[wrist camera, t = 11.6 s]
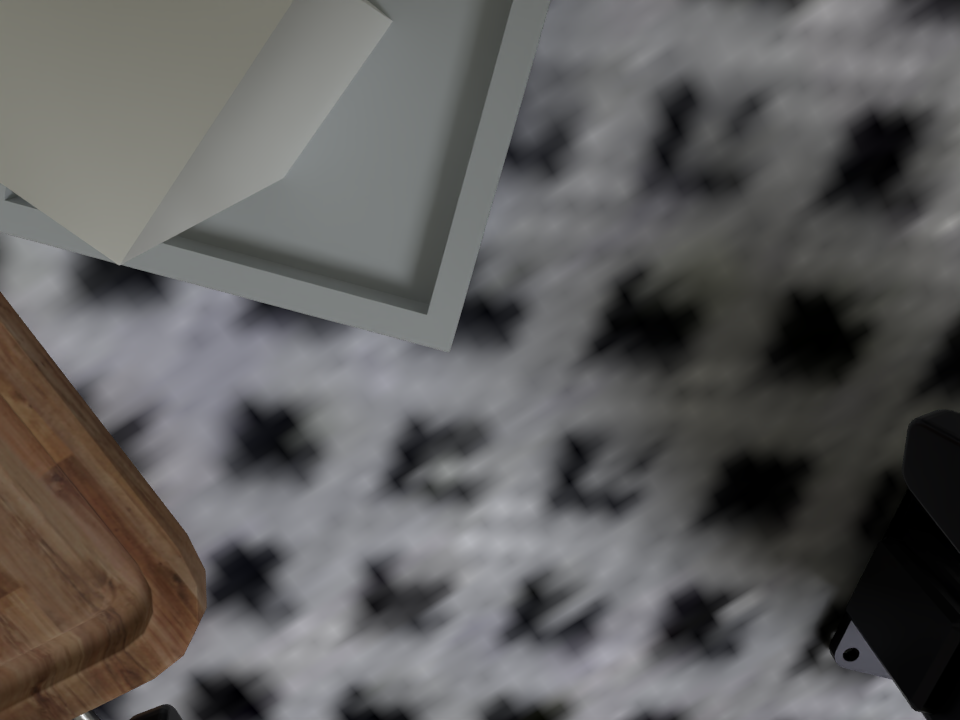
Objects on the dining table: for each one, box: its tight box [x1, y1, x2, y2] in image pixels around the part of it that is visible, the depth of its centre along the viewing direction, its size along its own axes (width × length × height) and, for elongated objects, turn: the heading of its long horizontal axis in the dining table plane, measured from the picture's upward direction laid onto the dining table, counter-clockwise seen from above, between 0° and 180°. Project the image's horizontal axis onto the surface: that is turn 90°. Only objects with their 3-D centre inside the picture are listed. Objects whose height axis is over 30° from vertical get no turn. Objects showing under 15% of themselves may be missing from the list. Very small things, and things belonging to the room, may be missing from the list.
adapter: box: [0, 0, 393, 265], centre depth 15 cm, size 4×5×10 cm
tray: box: [0, 0, 551, 353], centre depth 19 cm, size 12×12×1 cm
